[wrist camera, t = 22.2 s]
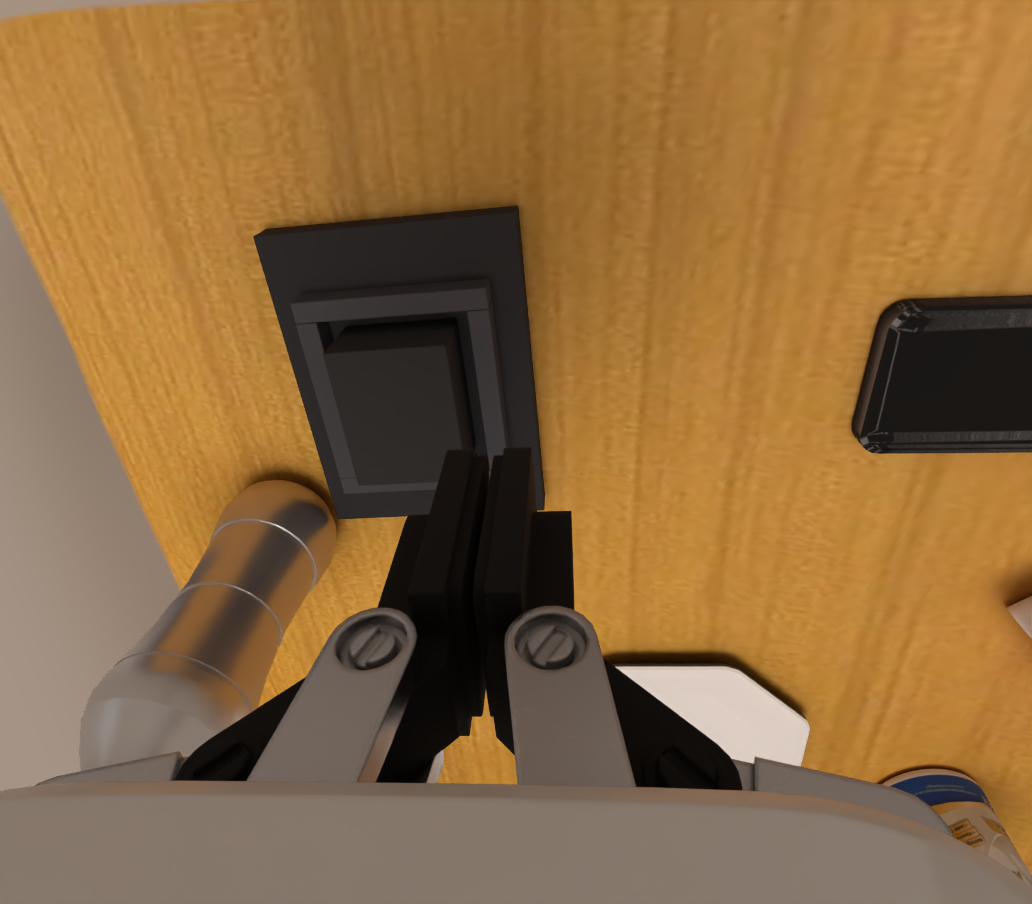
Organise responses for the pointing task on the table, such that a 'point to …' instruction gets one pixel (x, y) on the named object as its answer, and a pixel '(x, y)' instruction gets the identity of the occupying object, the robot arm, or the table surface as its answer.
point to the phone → (949, 378)
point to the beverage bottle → (964, 813)
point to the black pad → (401, 398)
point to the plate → (727, 709)
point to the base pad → (405, 298)
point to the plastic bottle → (214, 631)
